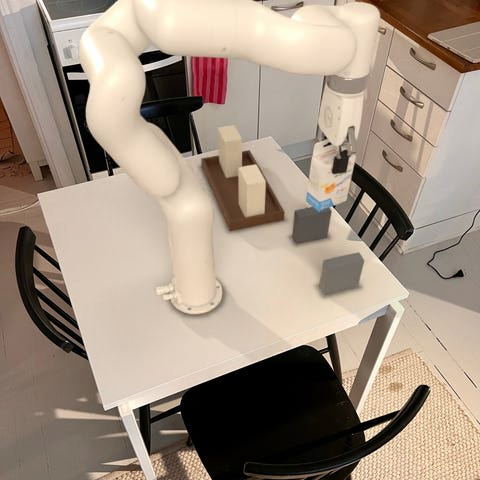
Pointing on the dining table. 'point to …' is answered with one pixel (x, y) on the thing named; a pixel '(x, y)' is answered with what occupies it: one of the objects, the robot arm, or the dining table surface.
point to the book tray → (229, 195)
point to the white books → (241, 172)
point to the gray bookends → (334, 269)
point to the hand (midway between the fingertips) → (332, 163)
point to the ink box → (327, 178)
